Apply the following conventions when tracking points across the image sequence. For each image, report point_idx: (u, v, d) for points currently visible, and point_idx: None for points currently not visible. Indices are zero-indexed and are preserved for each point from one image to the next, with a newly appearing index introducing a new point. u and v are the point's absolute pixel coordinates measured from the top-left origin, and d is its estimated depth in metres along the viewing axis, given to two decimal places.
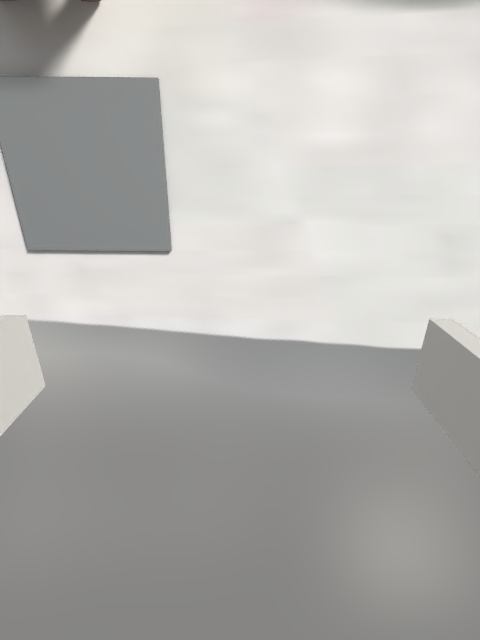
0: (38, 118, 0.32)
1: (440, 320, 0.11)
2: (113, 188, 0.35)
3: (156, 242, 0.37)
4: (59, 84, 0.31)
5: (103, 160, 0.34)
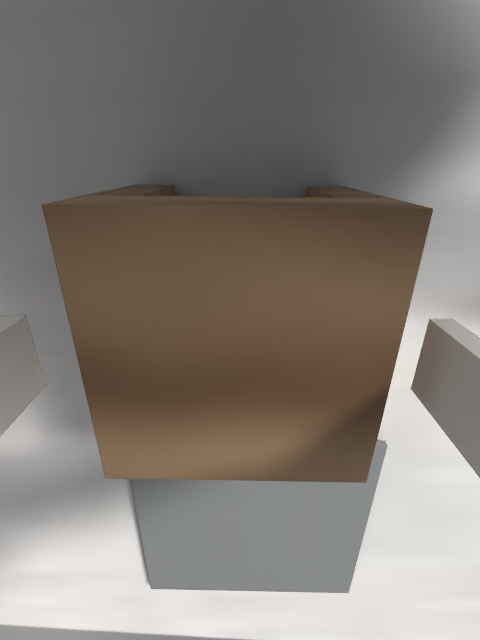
0: (196, 481, 0.22)
1: (440, 320, 0.11)
2: (286, 542, 0.24)
3: (330, 585, 0.27)
4: None
5: (279, 518, 0.23)
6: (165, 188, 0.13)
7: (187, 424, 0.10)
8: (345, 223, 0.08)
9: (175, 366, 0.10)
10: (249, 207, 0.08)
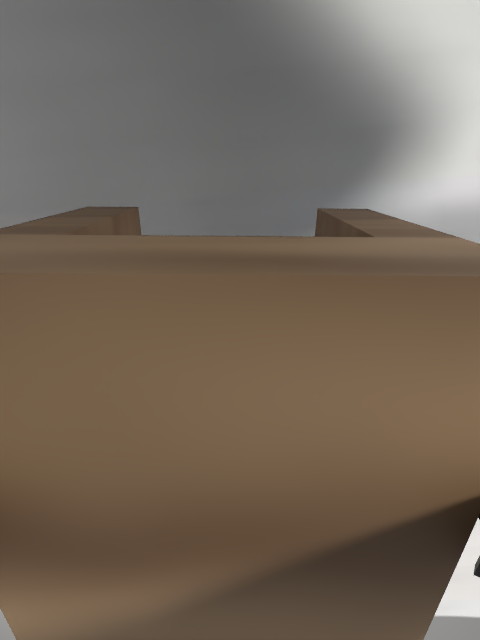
0: None
1: None
2: None
3: None
4: None
5: None
6: (121, 214, 0.09)
7: (144, 592, 0.07)
8: (416, 303, 0.04)
9: (116, 519, 0.06)
10: (235, 275, 0.04)
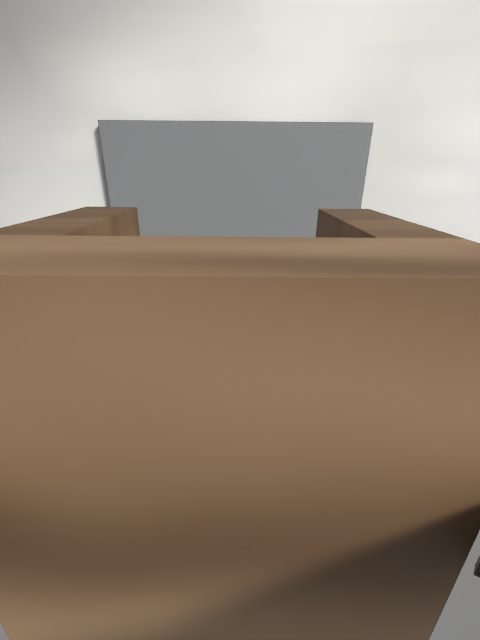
0: (175, 183, 0.21)
1: None
2: None
3: None
4: (216, 132, 0.20)
5: None
6: (120, 214, 0.09)
7: (142, 598, 0.07)
8: (421, 305, 0.04)
9: (113, 525, 0.06)
10: (235, 277, 0.04)
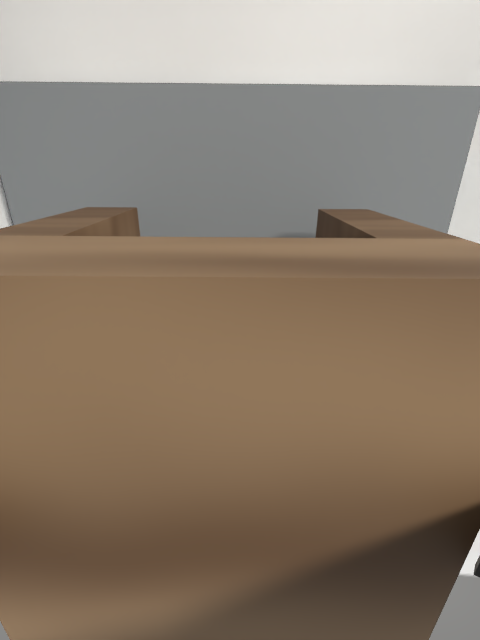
0: (126, 196, 0.12)
1: None
2: None
3: None
4: (195, 105, 0.11)
5: None
6: (120, 214, 0.09)
7: (142, 598, 0.07)
8: (421, 305, 0.04)
9: (114, 525, 0.06)
10: (234, 277, 0.04)
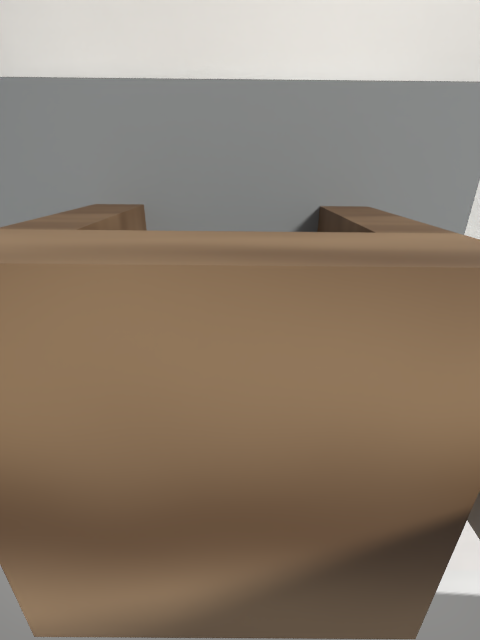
0: (116, 201, 0.11)
1: None
2: None
3: None
4: (190, 103, 0.10)
5: None
6: (128, 211, 0.10)
7: (151, 574, 0.07)
8: (414, 293, 0.04)
9: (125, 503, 0.06)
10: (241, 266, 0.04)
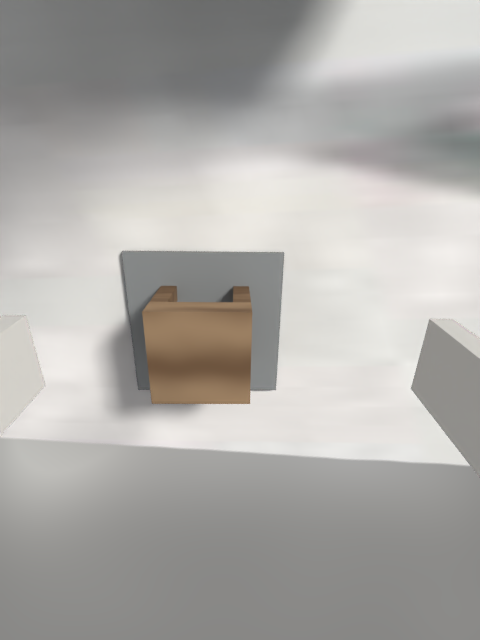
0: (167, 285, 0.34)
1: (440, 320, 0.11)
2: None
3: (262, 382, 0.39)
4: (191, 258, 0.33)
5: None
6: (173, 290, 0.33)
7: (183, 380, 0.30)
8: (228, 316, 0.28)
9: (179, 359, 0.29)
10: (201, 312, 0.27)
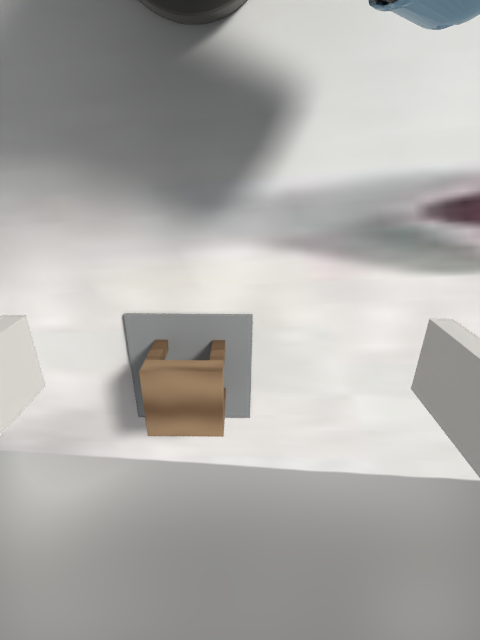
0: (160, 339, 0.43)
1: (440, 320, 0.11)
2: None
3: (239, 412, 0.48)
4: (179, 319, 0.42)
5: None
6: (164, 345, 0.42)
7: (171, 419, 0.39)
8: (204, 375, 0.36)
9: (167, 404, 0.38)
10: (183, 372, 0.36)
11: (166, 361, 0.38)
